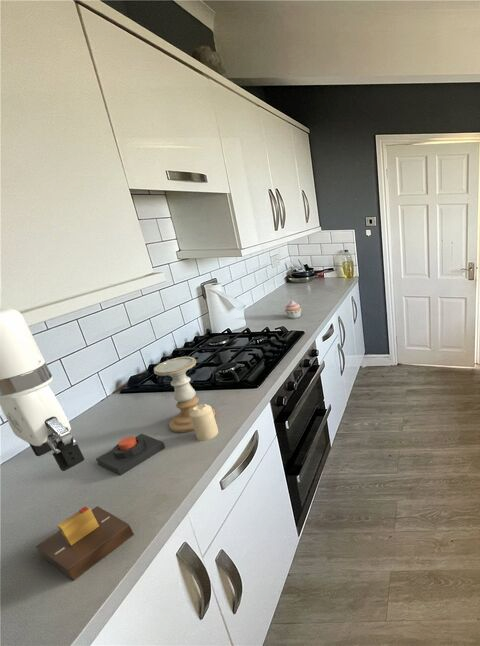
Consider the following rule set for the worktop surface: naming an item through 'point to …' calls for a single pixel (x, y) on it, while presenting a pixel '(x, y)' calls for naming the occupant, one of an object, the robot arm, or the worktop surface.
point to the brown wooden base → (86, 545)
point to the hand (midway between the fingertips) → (60, 458)
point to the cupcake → (293, 310)
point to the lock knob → (78, 525)
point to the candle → (203, 422)
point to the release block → (130, 455)
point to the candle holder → (180, 391)
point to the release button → (127, 443)
